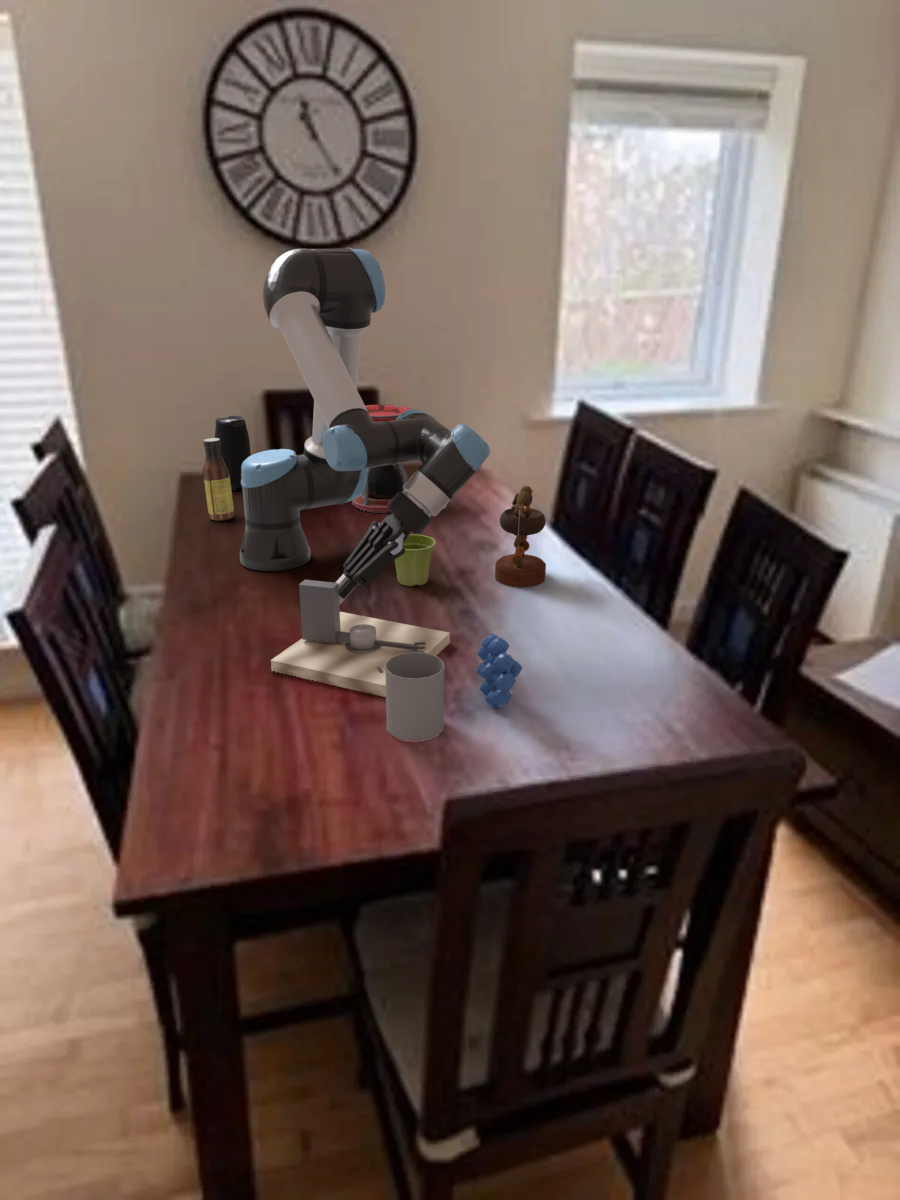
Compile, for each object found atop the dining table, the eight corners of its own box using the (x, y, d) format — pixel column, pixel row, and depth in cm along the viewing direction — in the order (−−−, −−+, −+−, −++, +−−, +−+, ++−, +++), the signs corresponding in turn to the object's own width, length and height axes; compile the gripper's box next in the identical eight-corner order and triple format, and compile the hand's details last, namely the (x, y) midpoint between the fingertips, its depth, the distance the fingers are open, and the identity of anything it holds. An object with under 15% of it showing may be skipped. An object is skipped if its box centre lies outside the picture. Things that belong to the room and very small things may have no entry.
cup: (386, 713, 131) (384, 652, 127) (441, 711, 132) (441, 651, 128) (387, 743, 123) (385, 679, 120) (445, 741, 124) (446, 678, 120)
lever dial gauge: (421, 644, 148) (421, 589, 144) (413, 656, 144) (413, 599, 140) (310, 631, 152) (307, 577, 148) (300, 641, 148) (296, 586, 144)
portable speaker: (254, 490, 245) (248, 420, 237) (219, 493, 242) (212, 421, 235) (252, 482, 252) (246, 414, 245) (218, 485, 250) (211, 415, 242)
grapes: (535, 721, 129) (538, 647, 125) (491, 727, 127) (493, 653, 123) (508, 685, 140) (511, 615, 135) (468, 690, 138) (469, 620, 133)
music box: (551, 590, 177) (547, 494, 170) (496, 594, 178) (490, 498, 170) (544, 563, 191) (540, 474, 184) (493, 567, 192) (488, 478, 184)
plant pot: (443, 577, 183) (443, 538, 180) (423, 592, 176) (422, 551, 172) (403, 570, 187) (402, 531, 184) (381, 585, 179) (380, 545, 176)
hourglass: (425, 502, 235) (425, 408, 226) (389, 517, 223) (387, 417, 213) (377, 493, 243) (374, 401, 234) (339, 507, 231) (335, 411, 221)
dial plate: (271, 671, 144) (270, 658, 143) (340, 621, 162) (340, 610, 161) (391, 698, 135) (391, 685, 134) (449, 643, 154) (449, 631, 153)
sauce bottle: (239, 516, 223) (232, 437, 215) (225, 522, 217) (218, 443, 210) (216, 513, 225) (209, 435, 217) (202, 520, 219) (194, 440, 212)
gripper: (445, 528, 145) (350, 634, 146) (419, 507, 157) (331, 606, 158) (414, 500, 142) (317, 609, 143) (390, 480, 153) (300, 582, 154)
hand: (325, 607), depth 150 cm, fingers closed
